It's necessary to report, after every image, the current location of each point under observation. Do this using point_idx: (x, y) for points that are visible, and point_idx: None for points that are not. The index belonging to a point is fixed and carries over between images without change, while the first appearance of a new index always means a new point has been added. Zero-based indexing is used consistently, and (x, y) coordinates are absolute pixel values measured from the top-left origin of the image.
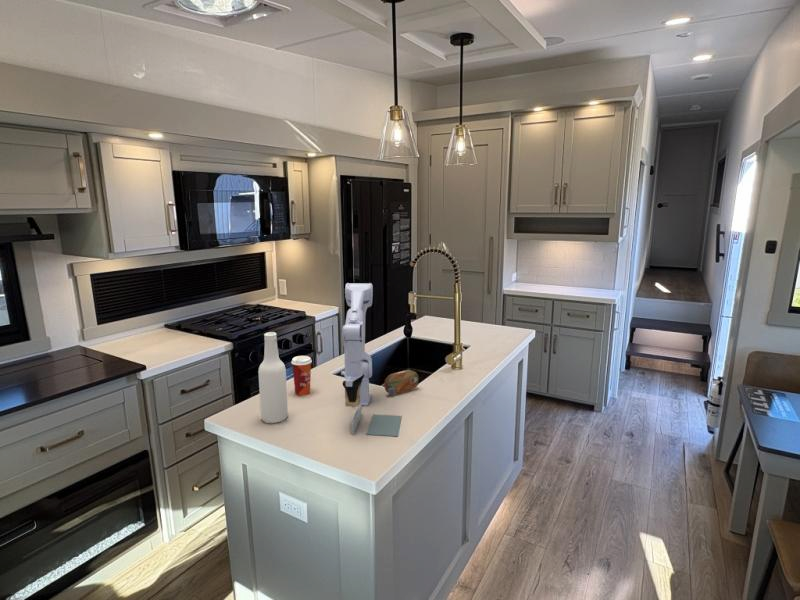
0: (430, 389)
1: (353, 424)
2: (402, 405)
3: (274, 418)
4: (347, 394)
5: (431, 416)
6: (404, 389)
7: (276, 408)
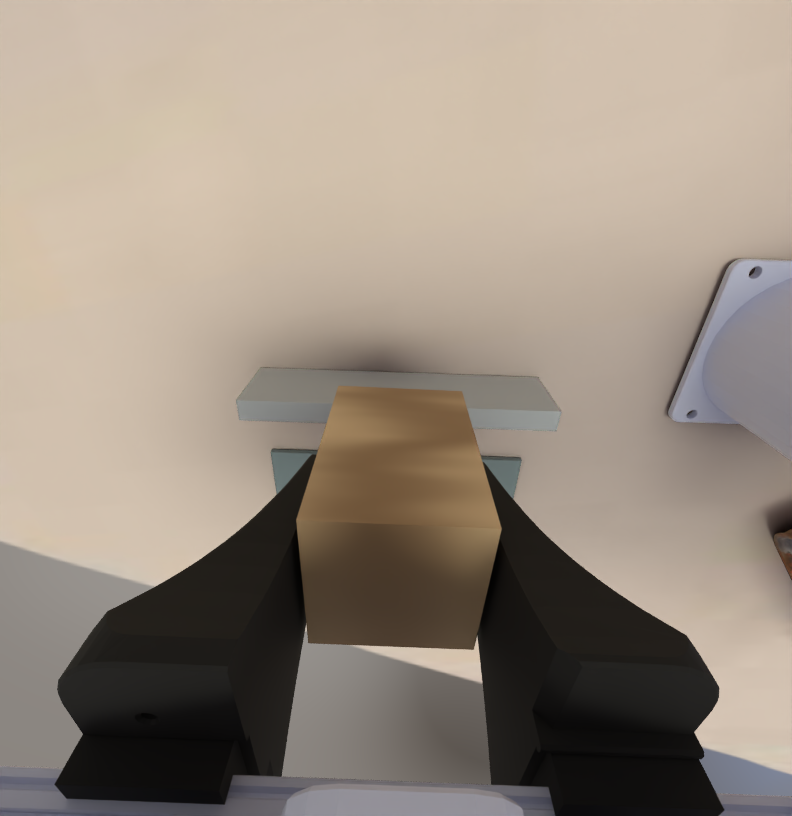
0: (788, 664)
1: (241, 417)
2: (627, 575)
3: None
4: (265, 508)
5: None
6: None
7: None
